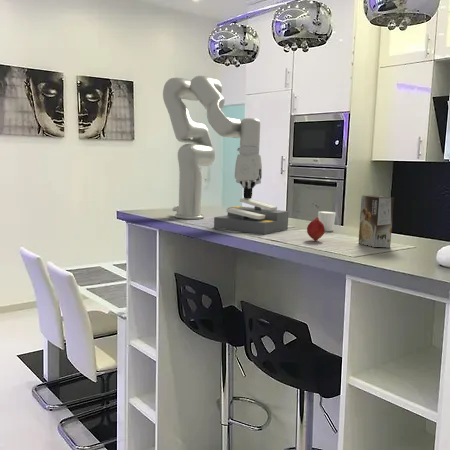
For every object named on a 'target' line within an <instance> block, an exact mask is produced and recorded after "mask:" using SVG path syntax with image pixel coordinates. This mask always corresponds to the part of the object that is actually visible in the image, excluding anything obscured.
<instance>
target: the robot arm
mask: <svg viewBox="0 0 450 450" xmlns="http://www.w3.org/2000/svg"><path fill="white" fill-rule="evenodd" d="M222 92H223V86H222V83H221V82H220V80H218V79H216V78H215V77H210V76H206V75H205V76H204V75H197V76H194V77H193V78H192V79H188V78H183V77H171V78H168V80H167V81H166V82H165V83H164V86H163V91H162V98H163V99H162V100H163V102H164V105H165V107H166V110H167V113H168V115H169V120H170V122H171V126H172V130H173V132H174V135H175V138H176V140H177V141H178V142H180V143H184V144H182V145H181V146H180V147H179V149H178V151H177V163H178V169H179V172H178V173H179V180H178V182H179V185H178V188H179V189H178V206H174V207H172V212H176V213H175V214H174V217H175V218H178V219H184V220H185V219H187V220H188V219H189V220H200V219H204V218H205V215H204V214H203V213H201V209H202V186H203V185H202V181H203V180H202V179H203V178H202V172H201V170H200V167H209V166H212V165H213V163H214V162H215V159H216V157H215V156H216V153H215V148H214V144H213V142H212V138H211V134H210V131H209V129H208V127H207V126H206V125H205V124H204V123H203V122H201V121H195V120H192V118H191V116H190V111H189V109H188V107H187V105H186V104H185V103H184V102H183V100H185V101H186V100H187V101H199V102H200V104H201V105H202V106H203V107H204V109H205V110H206V119H207V122H208V124H209V125H210V126H211V128H212V129H213V130H214V132H216V134H218V136H221V137H222V138H233V139H239V147H237V149H236V151H237V152H238V153H239V154H237V155H236V160H235V166H234V179H235V182H236V183H238V184H240V186H241V188H242V189H243V198H244V199H253V198H252V197H253V189H254V187H255V186H256V185H261V183H262V177H263V168H262V167H263V166H262V165H263V164H262V157H261V154H260V138H261V120H260V119H258V118H249V117H248V118H243V119H242V118H233V117H227V116H226V115H225V114H224V112H223V111H222V108H223V107H224V104H225V98H224V96H223V95H222Z"/></svg>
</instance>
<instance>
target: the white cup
mask: <svg viewBox="0 0 450 450" xmlns="http://www.w3.org/2000/svg"><path fill="white" fill-rule="evenodd" d="M336 214H337V213H336V212H335V211H327V210H325V211H324V210H321V211H318V212H317V217H318V218H319V221H321V222H322V223H323V225H324V227H325V232H332V231H334V227H335V220H336V216H337V215H336Z"/></svg>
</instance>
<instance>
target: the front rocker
mask: <svg viewBox="0 0 450 450" xmlns="http://www.w3.org/2000/svg"><path fill="white" fill-rule="evenodd" d="M228 208H229V209H228ZM228 208H226V211H225V212H226V213H228V212H229V213H233V214H237V215H242V216H246V217H250V218H254V219H264V218H265V215H263V214H258V213H254V212H250V211H245V210H241V209H236V208H230V207H228Z"/></svg>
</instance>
